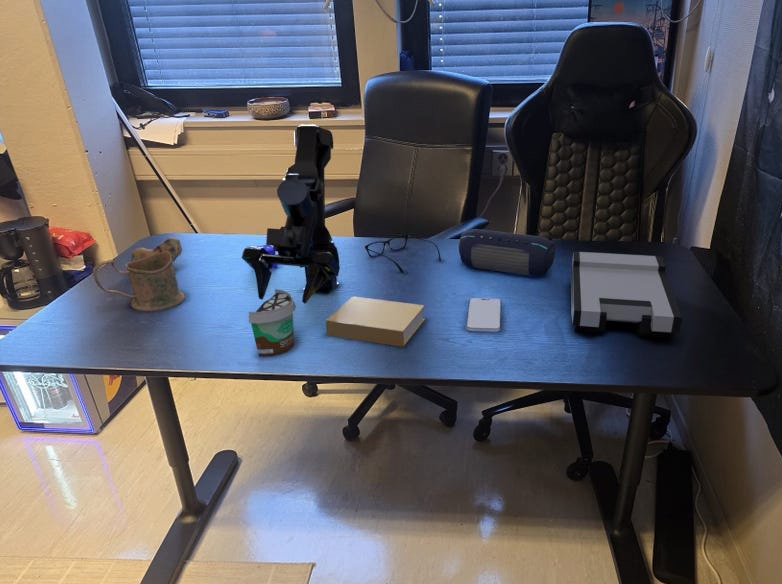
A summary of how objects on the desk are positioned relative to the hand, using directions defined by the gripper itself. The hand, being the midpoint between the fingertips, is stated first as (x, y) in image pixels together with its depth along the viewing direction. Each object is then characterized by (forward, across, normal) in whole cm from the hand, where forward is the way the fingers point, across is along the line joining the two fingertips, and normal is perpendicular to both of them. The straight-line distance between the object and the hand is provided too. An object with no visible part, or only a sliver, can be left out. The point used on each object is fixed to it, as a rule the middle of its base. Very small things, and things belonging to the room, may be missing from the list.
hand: (282, 300), depth 123 cm
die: (-21, -24, +34) cm, 47 cm away
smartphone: (-8, +37, +22) cm, 44 cm away
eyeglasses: (-31, +10, +44) cm, 54 cm away
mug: (-1, -40, +14) cm, 43 cm away
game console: (-14, +66, +28) cm, 73 cm away
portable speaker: (-29, +38, +42) cm, 63 cm away
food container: (+8, 0, +5) cm, 10 cm away
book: (-1, +16, +14) cm, 21 cm away
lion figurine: (-14, -50, +28) cm, 58 cm away
